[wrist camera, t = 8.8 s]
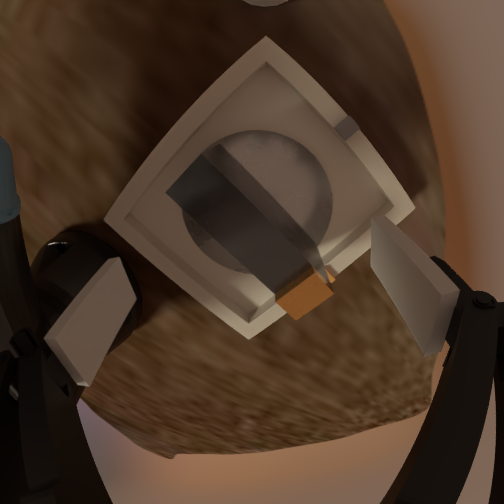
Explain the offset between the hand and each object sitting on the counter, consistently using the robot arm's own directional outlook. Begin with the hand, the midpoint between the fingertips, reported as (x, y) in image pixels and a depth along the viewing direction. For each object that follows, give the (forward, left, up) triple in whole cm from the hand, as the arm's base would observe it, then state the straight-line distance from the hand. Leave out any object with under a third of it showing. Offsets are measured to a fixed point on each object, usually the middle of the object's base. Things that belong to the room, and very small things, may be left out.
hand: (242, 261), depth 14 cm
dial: (0, 0, -10) cm, 10 cm away
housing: (0, 0, -12) cm, 12 cm away
